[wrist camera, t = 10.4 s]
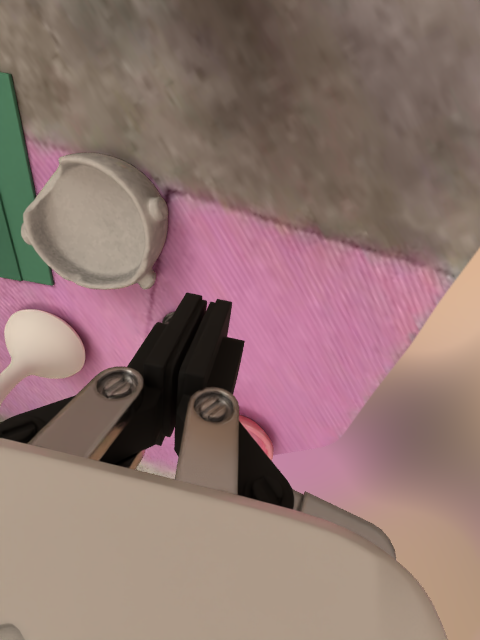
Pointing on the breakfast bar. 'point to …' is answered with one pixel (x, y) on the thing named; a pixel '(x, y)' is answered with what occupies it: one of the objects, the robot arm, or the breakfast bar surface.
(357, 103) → the breakfast bar surface
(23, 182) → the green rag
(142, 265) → the dish
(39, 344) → the flower in vase
